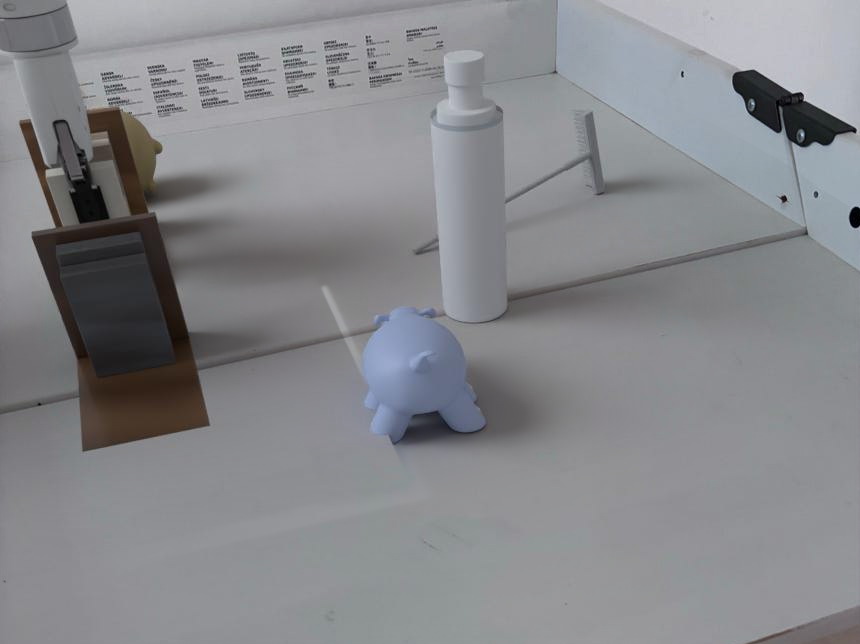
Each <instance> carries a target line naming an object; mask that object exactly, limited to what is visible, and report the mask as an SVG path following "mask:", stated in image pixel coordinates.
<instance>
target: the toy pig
mask: <svg viewBox="0 0 860 644" xmlns="http://www.w3.org/2000/svg"><path fill="white" fill-rule="evenodd" d="M104 108H107V106H106V107H102V106H101V107H95V108H92V109H91V110H97V109H104ZM120 111H121V115H122V119H123V122H124V126H125V129H126V133H127V136H128V140H129V143H130V147H131V151H132V154H133V158H134V161H135V165H136V168H137V172H138V175H139V179H140V183H141V186H142V190H143V193H145V192H147V193H150V194H153V193H155V192H157V190H158V185H157V183H156V181H155V180H154V176H155V173H156V168H157V155H159V154H161V153H163V149H164V147H163V145H162V143H161V142H160V141H158V140H157V139H155V138H153V137H152V136H151V134H150V132H149V130H148V129H147V128H146V126H145V125H144V124H143V123H142V122H141V121H140V120H139V119H138V118H136V117H135V116H133V115H132V114H130V113H129V112H126V111H123V110H121V109H120Z"/></svg>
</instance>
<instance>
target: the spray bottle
mask: <svg viewBox="0 0 860 644" xmlns="http://www.w3.org/2000/svg"><path fill="white" fill-rule="evenodd" d="M443 71H444V81H445V84H447V86H448V87H447V91H448V98H444V99H442V100H441V101H439V102H438V104H436V108H434V109H433V110H432V111H431V112H430V114H429V118H430V134H431V148H432V149H431V150H432V167H433V178H434V193H435V194H434V195H435V207H436V222H437V223H436V224H437V235H438V237H439V241H438V249H439V263H440V278H441V291H442V305H443V311H444V313H445V314H446V315H447V316H448V317H449V318H450V319H452V320H455V321H458V322H461V323H467V324H468V323H469V324H477V323H478V324H479V323H485V322H489V321H493V320H495V319H498V318H499V317H501V316H502V315H503V314H504V313H505V312H506V311H507V309H508V279H507V278H508V271H507V269H508V268H507V264H508V263H507V222H506V218H507V217H506V204H505V198H506V175H505V174H506V173H505V171H506V170H505V138H504V137H505V133H504V110H503V108H502V107H500V106H499V105H497V103H496V101H495V100H493V99H492V98H490V97H488V96H484V93H483V89H484V88H483V82H485V81H486V74H485V73H486V67H485V54H484V53H483V52H482V51H479V50H474V49H460V50H454V51H450V52H448V53H446V54H444V56H443Z"/></svg>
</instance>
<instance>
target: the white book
mask: <svg viewBox="0 0 860 644" xmlns="http://www.w3.org/2000/svg"><path fill="white" fill-rule="evenodd" d="M90 165H91V168H92V172H93V175H94V178H95V181H96V185H97V186H100V188H101V192H102V195H103V198H104V201H105V204H106V208H107V211H108V214H109V217H110V219H113V218H119V217H125V216H129V213H128V210H127V207H126V203H125V200H124V197H123V193H122V190H121V187H120V183H119V180H118V176H117V173H116V170H115V166H114V163H113V160H108V161H101V162H95V163H90ZM81 168H85V166H81ZM85 170H86V168H85ZM46 179H47V182H48V185H49V188H50V191H51V194H52V196H53V199H54V202H55V205H56V208H57V211H58V214H59V217H60V219H61V222H62V225H63V227H64V226H70V225H76V224H80V223H79V220H78V217H77V215H76V212H75V209H74V206H73V203H72V200H71V197H70V194H69V190H70V189H69V186H68V183H67V180H66V177H65V174H64V171H63V168H55V169H49V170H46Z"/></svg>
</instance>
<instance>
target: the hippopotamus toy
mask: <svg viewBox="0 0 860 644" xmlns="http://www.w3.org/2000/svg"><path fill="white" fill-rule="evenodd" d="M426 316H428V317H426ZM436 316H437V310H436V309H435V308H434V307H431V306H430V307H425V308H423V309H422V310H419V309H417V308H415V307H414V306H409V305H402V306H398V307H396V308H394V309H391V310H390V313H389V315H388V314H380V313H379V314H376V315H375V316H374V317H373V324H374V326H376V327H379V326H380V325H381V324H382V325H381V326H380V327H379V328H377V330H376V331H374V333H373V334H372V335H371V337H370V338H369V339H368V341H367V343H366V345H365V347H364V351H363V354H362V372H363V373H362V374H363V377H364V380H365V383H366V385H367V387H368V389H369V390H368V392H367V394H366V396H365V398H364V402H363V405H364V406H365V407H366V408H367V409H369V410H373V411H376V412H375V414H374V416H373V419H372V421H371V423H370V425H369V429H370V431H371V433H373V434H375V435H379V436H388V437H389V440H390V442H391V444H392V445H393V444H396V443H397V442H399V441H400V440H401V439H402V438H403V437H404V435H405V433H406V431H407V429H408V426H409V424H410V422H411V420H412V418H413V416H414V415H422V414H427V413H432V412H436V411H437V412H438V414H439V415H440V416H441V417H442V419H443V420H444V421H445V422H446V424H447V425H448V427H450V429H451V430H453V431H456V432H459V433H472V432H473V433H474V432H477V431H479V430H481V429H483V428H484V427H485V426H486V424H487V420H486V418H485V416H484V414H483V413H482V411H481V408H480V406H477V405H476V404H475V403H476V401H477V398H478V396H477V394H476V393H475V391H474V388H473V386H472V385H471V384H469V383H468V382H467V380H466V378H467V360H466V355H465V353H464V350H463V348H462V345H461V344H460V341H459V340H458V338H457V337H456V336H455V334H454V333H452V331H451V330H449V329H448V328H447V327H446V326H445V325H443V324H441V323H440V322H438V321H436V320H435V319H434V318H436ZM429 317H430V318H429Z"/></svg>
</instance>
